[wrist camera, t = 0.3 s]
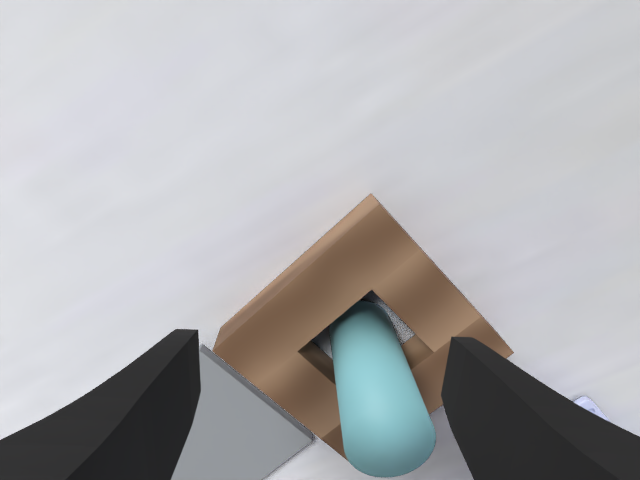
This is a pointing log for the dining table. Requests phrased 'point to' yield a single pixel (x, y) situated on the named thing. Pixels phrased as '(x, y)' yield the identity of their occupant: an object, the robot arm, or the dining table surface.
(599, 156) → the dining table surface
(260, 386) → the holder
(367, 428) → the peg
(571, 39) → the dining table surface
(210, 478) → the pad
